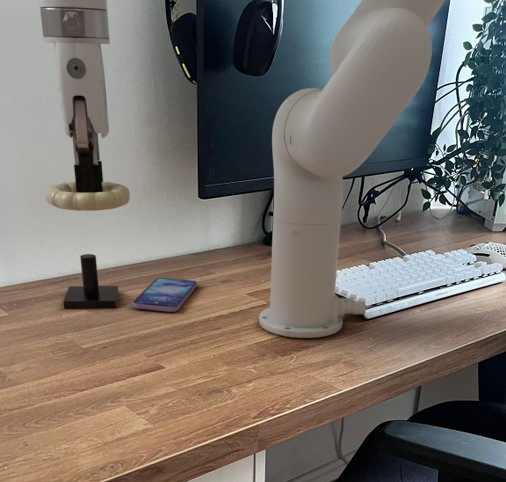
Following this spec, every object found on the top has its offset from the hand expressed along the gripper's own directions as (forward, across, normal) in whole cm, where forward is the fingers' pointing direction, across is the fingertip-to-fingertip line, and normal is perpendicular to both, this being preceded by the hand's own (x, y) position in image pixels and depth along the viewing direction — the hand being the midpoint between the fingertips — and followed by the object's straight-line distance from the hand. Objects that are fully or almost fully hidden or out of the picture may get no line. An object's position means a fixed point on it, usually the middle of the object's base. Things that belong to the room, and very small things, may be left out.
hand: (90, 194), depth 89 cm
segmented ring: (-1, -4, 0) cm, 4 cm away
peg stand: (+19, +16, +2) cm, 25 cm away
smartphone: (+19, +17, -10) cm, 27 cm away
